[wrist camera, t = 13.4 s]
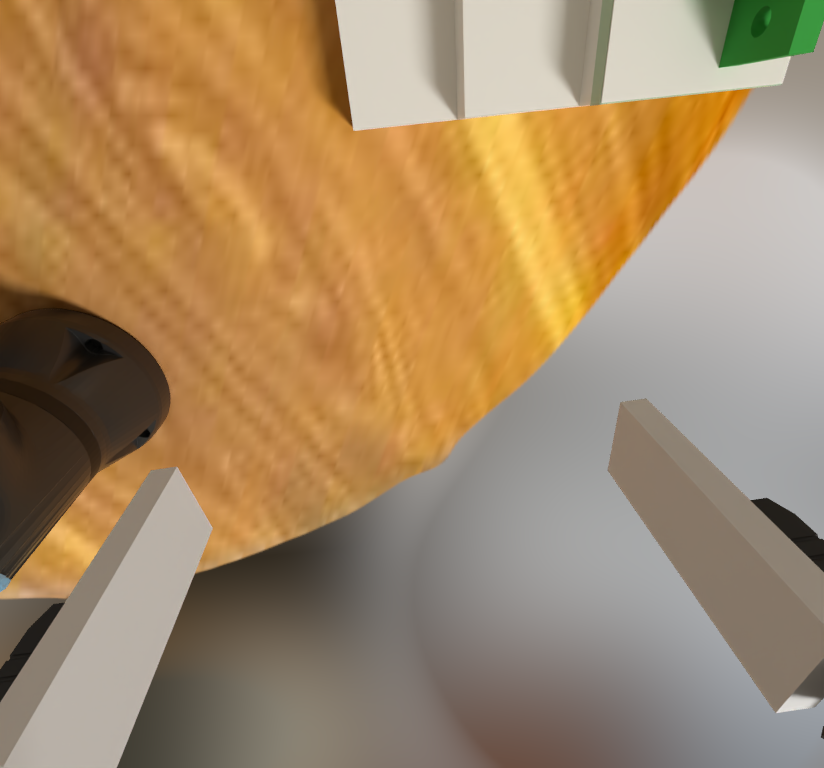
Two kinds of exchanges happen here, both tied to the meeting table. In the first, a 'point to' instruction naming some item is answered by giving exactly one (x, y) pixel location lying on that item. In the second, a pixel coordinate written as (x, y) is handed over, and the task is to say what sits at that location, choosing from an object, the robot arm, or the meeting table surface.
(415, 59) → the stepped riser
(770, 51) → the pipe clamp
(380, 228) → the meeting table surface
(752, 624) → the robot arm
